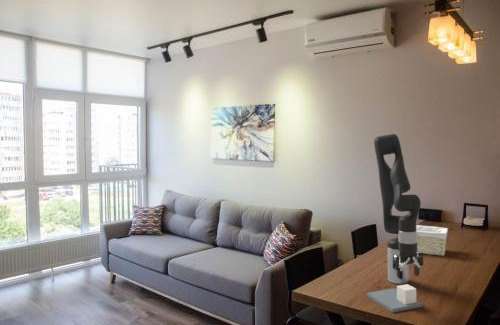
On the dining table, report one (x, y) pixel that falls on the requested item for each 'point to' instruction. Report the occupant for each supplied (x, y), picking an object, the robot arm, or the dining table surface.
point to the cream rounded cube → (406, 294)
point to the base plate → (391, 300)
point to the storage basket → (431, 239)
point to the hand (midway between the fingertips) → (408, 277)
